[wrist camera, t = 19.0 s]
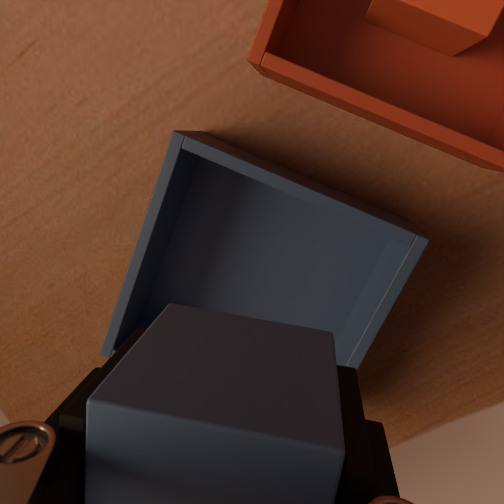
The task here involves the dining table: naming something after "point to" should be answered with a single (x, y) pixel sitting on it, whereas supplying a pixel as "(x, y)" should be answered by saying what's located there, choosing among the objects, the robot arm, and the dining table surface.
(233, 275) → the blue bin
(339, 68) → the terracotta bin
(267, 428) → the blue block
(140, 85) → the dining table surface
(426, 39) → the terracotta block
